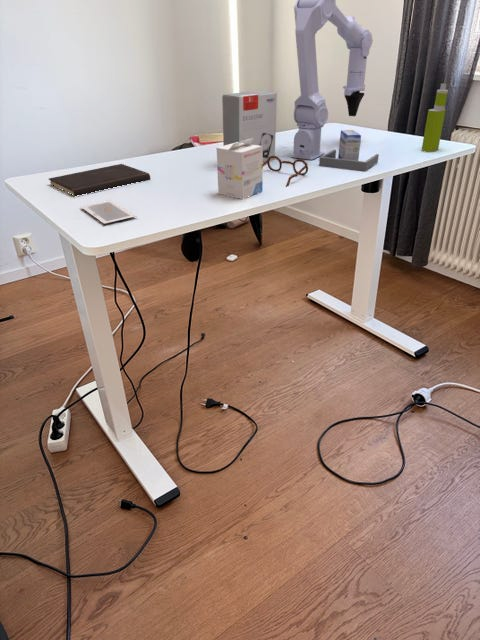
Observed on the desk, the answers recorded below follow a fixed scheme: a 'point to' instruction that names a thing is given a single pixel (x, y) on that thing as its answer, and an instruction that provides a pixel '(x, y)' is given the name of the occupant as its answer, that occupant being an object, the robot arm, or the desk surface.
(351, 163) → the box
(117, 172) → the hardcover book
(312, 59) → the robot arm
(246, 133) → the hard drive box
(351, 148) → the medicine box
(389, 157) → the desk surface
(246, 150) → the ink box
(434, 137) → the vape
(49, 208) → the desk surface
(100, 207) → the touchpad
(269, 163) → the glasses
